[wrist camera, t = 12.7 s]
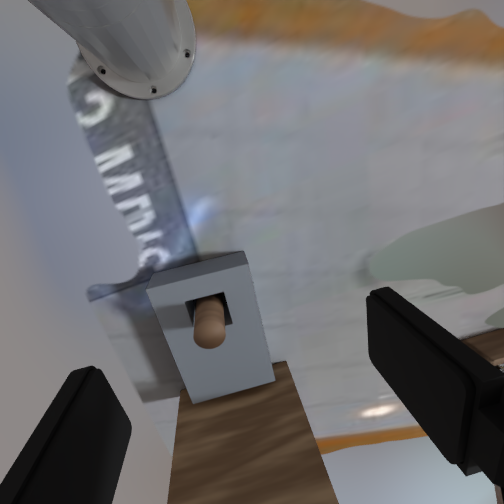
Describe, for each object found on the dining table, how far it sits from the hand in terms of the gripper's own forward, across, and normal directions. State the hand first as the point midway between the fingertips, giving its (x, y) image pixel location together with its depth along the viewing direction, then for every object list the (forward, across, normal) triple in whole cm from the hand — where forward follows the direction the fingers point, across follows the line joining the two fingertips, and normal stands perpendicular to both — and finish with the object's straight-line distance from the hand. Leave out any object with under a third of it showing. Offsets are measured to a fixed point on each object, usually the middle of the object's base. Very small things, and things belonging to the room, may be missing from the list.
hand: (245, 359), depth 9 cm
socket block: (+30, +5, +19) cm, 36 cm away
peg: (+30, +5, +14) cm, 34 cm away
